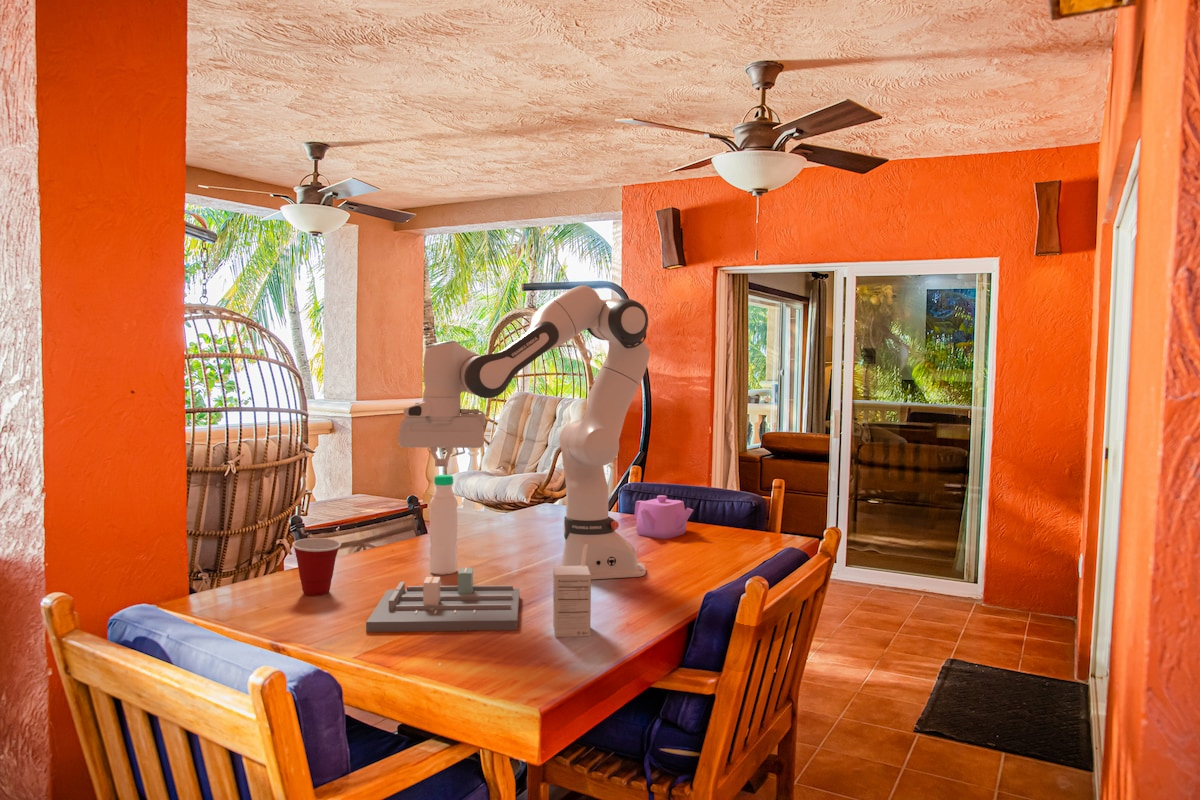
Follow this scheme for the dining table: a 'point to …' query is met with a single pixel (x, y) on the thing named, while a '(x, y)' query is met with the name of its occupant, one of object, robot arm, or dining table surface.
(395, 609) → the console
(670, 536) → the teakettle
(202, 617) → the dining table surface
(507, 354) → the robot arm
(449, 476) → the water bottle
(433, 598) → the fader
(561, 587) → the supplement box
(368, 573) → the dining table surface
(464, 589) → the fader
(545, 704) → the dining table surface
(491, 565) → the dining table surface
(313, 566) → the plastic cup
